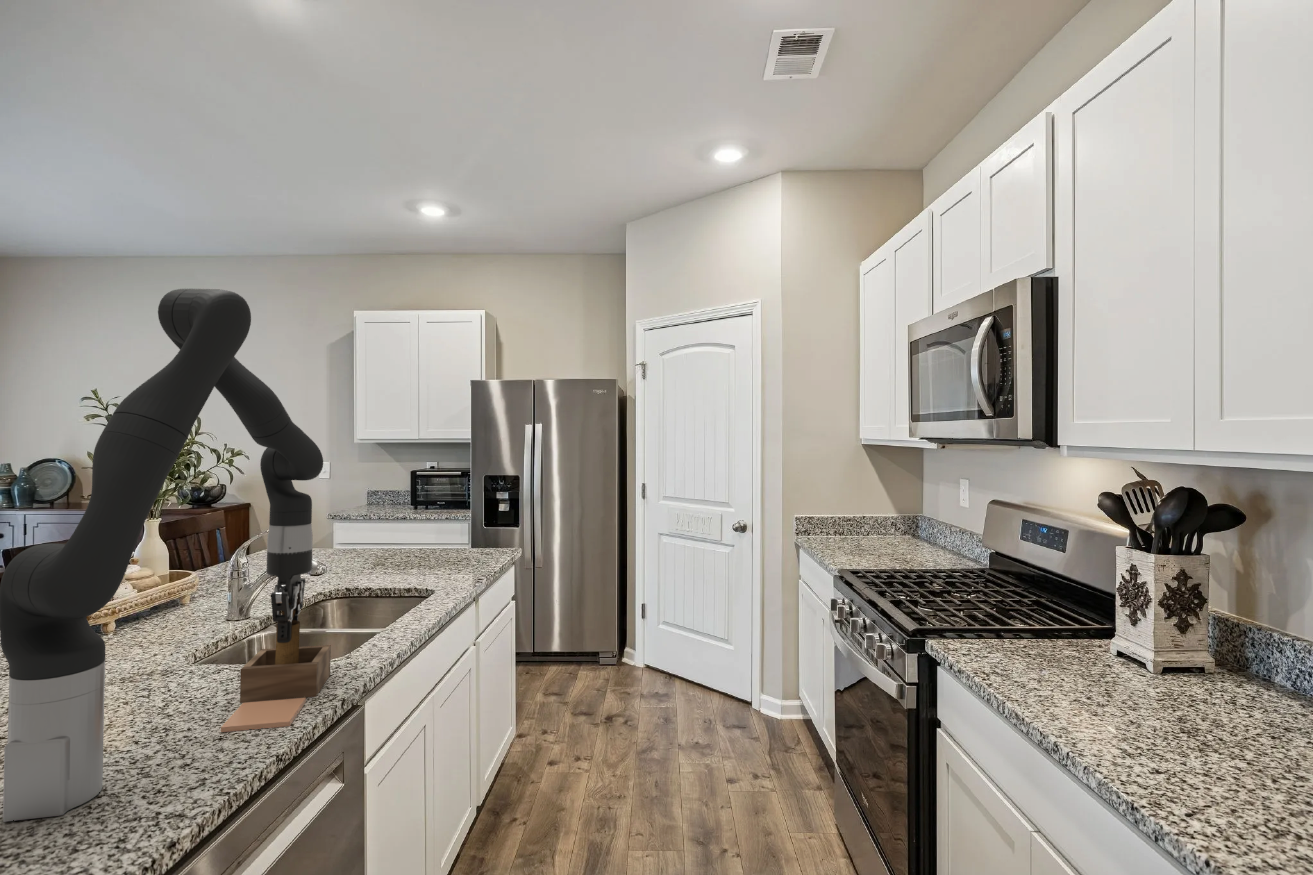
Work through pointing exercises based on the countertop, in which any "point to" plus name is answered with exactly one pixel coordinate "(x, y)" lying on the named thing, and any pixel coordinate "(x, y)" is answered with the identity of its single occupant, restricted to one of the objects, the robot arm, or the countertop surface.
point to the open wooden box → (285, 675)
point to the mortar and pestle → (289, 645)
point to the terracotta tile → (264, 714)
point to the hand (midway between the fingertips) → (287, 637)
